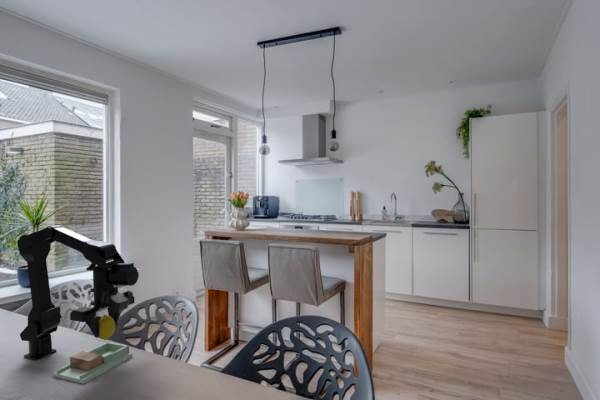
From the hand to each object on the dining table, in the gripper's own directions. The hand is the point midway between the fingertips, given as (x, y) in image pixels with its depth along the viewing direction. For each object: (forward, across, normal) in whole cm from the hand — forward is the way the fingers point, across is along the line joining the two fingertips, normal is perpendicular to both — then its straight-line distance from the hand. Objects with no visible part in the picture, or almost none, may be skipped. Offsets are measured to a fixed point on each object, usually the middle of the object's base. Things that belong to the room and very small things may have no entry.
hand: (105, 333), depth 111 cm
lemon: (+2, 0, 0) cm, 2 cm away
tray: (+8, -4, 0) cm, 9 cm away
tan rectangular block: (+7, -7, 0) cm, 10 cm away
